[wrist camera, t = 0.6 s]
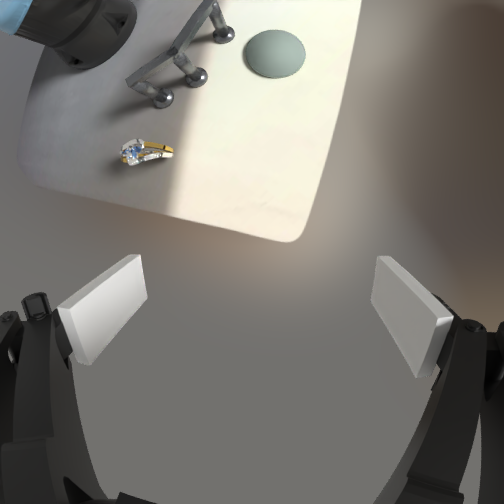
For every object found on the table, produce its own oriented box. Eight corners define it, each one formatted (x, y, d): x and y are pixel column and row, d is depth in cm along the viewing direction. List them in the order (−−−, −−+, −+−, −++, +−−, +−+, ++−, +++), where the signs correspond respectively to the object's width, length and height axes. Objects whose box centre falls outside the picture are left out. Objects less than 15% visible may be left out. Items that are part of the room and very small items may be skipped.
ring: (136, 163, 36) (106, 164, 28) (139, 142, 35) (109, 138, 27) (179, 167, 35) (156, 167, 28) (183, 144, 34) (159, 139, 27)
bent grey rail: (140, 75, 32) (105, 55, 22) (229, 24, 28) (215, -12, 19) (159, 112, 33) (124, 97, 24) (253, 59, 30) (246, 25, 21)
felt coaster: (236, 45, 30) (235, 43, 29) (286, 24, 28) (286, 22, 27) (263, 87, 31) (263, 85, 31) (315, 65, 30) (316, 63, 29)
